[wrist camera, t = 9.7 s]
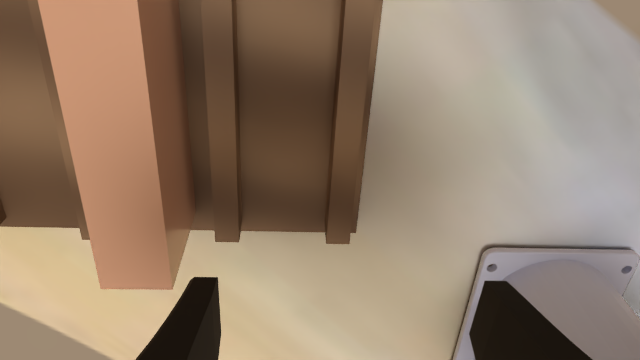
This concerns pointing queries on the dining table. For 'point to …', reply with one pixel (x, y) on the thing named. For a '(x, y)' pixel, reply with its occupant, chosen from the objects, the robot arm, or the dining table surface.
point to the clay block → (126, 132)
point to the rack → (217, 116)
